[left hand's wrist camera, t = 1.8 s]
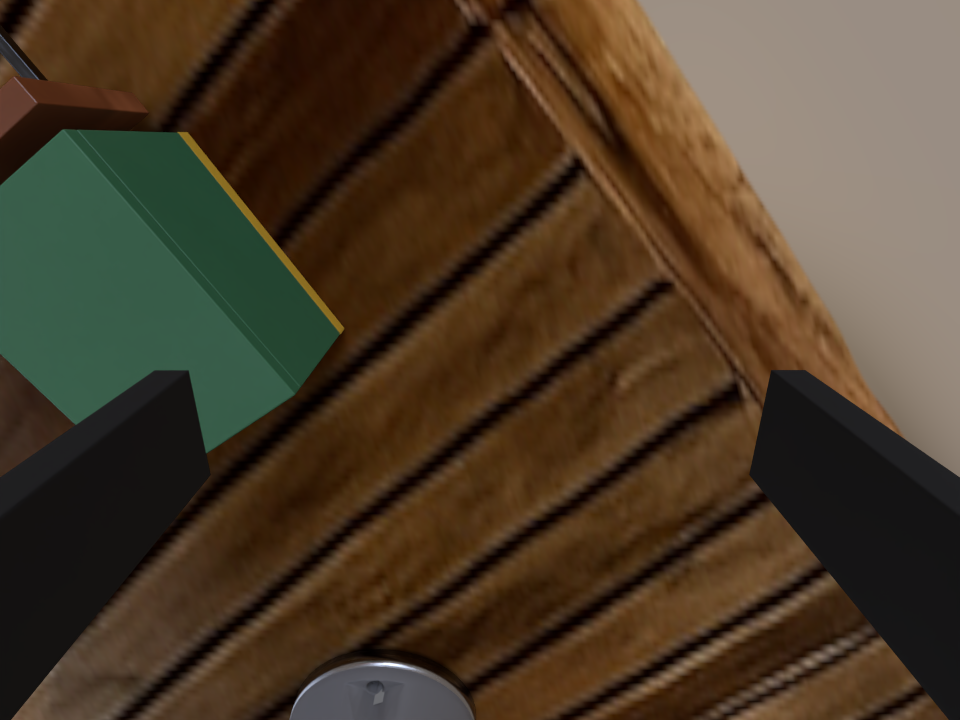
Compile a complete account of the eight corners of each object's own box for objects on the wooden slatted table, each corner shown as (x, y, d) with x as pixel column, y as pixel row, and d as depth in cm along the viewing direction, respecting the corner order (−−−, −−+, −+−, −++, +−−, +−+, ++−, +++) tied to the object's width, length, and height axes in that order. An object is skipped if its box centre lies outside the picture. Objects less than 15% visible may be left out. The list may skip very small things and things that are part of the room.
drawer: (-71, 84, 28) (-261, 64, 21) (38, -24, 27) (-129, -87, 19) (188, 361, 34) (108, 421, 27) (291, 287, 32) (236, 329, 25)
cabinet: (68, 232, 32) (-93, 267, 23) (187, 132, 30) (62, 127, 21) (230, 406, 36) (147, 493, 27) (344, 328, 34) (295, 395, 25)
